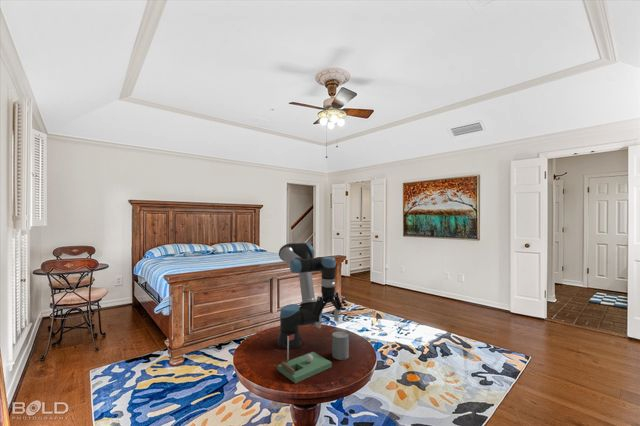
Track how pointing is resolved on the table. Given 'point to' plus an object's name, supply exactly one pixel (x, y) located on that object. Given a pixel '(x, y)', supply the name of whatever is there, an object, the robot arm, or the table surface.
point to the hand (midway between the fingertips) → (327, 324)
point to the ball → (309, 358)
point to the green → (302, 365)
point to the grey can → (340, 345)
